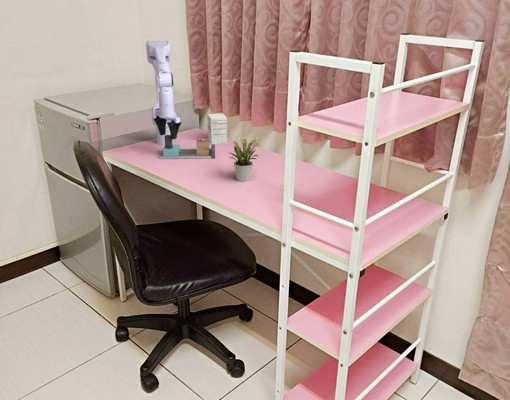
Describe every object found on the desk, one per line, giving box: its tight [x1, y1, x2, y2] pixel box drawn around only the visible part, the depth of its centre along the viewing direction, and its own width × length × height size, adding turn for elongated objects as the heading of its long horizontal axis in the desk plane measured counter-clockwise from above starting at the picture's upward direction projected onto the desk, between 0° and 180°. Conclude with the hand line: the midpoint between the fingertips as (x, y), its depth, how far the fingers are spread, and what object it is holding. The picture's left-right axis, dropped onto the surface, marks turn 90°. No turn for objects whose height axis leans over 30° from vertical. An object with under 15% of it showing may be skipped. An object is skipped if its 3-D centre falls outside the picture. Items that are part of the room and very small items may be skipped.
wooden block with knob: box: [196, 138, 210, 156], centre depth 206 cm, size 5×5×6 cm
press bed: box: [159, 143, 216, 160], centre depth 206 cm, size 10×22×4 cm, turn 94°
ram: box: [162, 135, 181, 156], centre depth 205 cm, size 8×6×8 cm
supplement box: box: [206, 112, 228, 146], centre depth 223 cm, size 7×7×13 cm
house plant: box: [228, 135, 264, 182], centre depth 183 cm, size 14×14×16 cm
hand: (168, 136), depth 203 cm, fingers open, 7 cm apart
